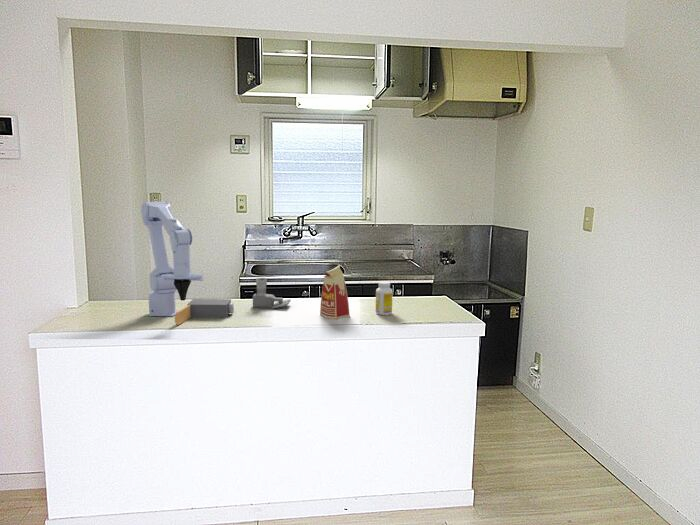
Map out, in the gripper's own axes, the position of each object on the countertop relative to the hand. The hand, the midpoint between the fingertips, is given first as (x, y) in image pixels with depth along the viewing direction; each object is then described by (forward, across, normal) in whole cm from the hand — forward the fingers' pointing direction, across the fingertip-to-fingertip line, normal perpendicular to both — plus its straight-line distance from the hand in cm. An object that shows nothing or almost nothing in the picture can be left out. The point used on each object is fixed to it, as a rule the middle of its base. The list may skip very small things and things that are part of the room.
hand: (183, 299), depth 194 cm
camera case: (+9, +6, +14) cm, 18 cm away
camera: (+10, +29, +26) cm, 40 cm away
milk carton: (+9, +55, +13) cm, 58 cm away
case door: (+9, -1, +4) cm, 10 cm away
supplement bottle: (+9, +75, +17) cm, 78 cm away
